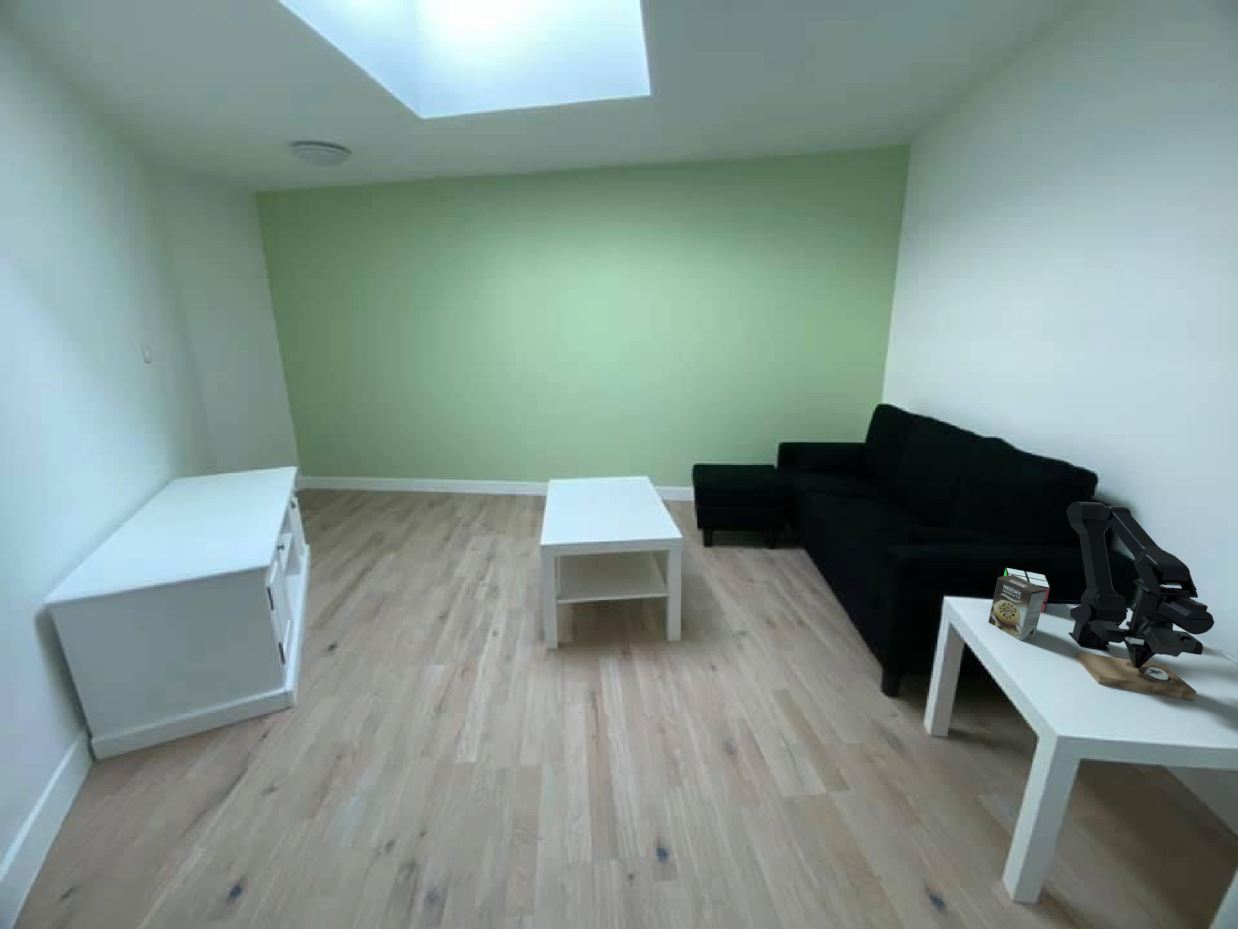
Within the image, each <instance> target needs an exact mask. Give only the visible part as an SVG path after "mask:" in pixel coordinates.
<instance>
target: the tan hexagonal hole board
mask: <svg viewBox="0 0 1238 929" xmlns="http://www.w3.org/2000/svg"><path fill="white" fill-rule="evenodd" d="M1075 659H1076V660H1077V661H1078V662H1079V663H1080V665H1081V666H1082V667H1083V668H1084V669H1085V670H1086V671H1087V672H1088V674H1089V675H1090V676H1091V677H1092V678H1093V679H1094V681H1096V683H1097V684H1098V685H1104V686H1108V687H1114V688H1119V689H1125V690H1129V691H1131V690H1132V691H1136V692H1140V693H1141V692H1142V693H1146V694H1147V693H1148V694H1152V695H1158V696H1162V697H1163V696H1164V697H1170V698H1176V699H1181V700H1187V701H1194V700H1195V697H1196V693H1197V690H1195V689H1194V688H1193V687H1192V686H1191V685H1190V684H1188V683H1187V682H1186V681H1185V680H1183V678H1181V677H1180V676H1179V675H1177V674H1176V673H1175V672H1174V671H1173V670H1171V669H1170V668H1169V667H1168V666H1167V665H1166V664H1162V663H1155V662H1154V663H1153V662H1150V661H1149V662H1148V661H1147V662H1146V663H1145V664H1144V665H1143V666H1141V667H1140V668H1135V667H1133V665H1132V662H1131V659H1127V658H1120V657H1113V656H1106V655H1101V654H1099V655H1098V654H1091V653H1085V652H1081V651H1080V652H1079V651H1077V652H1076V654H1075ZM1153 667H1154V668H1159V669H1161V670H1163V671H1164V672H1166V673H1167V675H1168V677H1169V681H1168V682H1166V681H1159V680H1155V679H1152V678H1150V677H1148V676H1145V671H1146V670H1147V669H1148V668H1153Z"/></svg>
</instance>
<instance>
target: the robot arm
mask: <svg viewBox="0 0 1238 929" xmlns="http://www.w3.org/2000/svg"><path fill="white" fill-rule="evenodd" d="M1131 512H1132V511H1130V509H1129V508H1128V507H1125V506H1123V505H1106V504H1105V503H1104V502H1103V503H1102V502H1091V501H1090V502H1089V501H1073V502H1071V503H1070V504H1069V505H1068V507H1067V508H1066V515H1067V519H1068V522H1069V526H1071V528H1072V529H1073V530H1074V531H1075V532H1076V533H1077V534H1078V537H1079V544H1080V548H1081V549H1080V550H1081V557H1082V558H1081V559H1082V563H1083V570H1084V577H1085V582H1086V584H1085V585H1086V589H1085V590H1084V592H1083V594H1082V595H1081V597H1080V604H1079V605H1078V606H1075V607H1071V608H1070V609H1069V611H1070V612H1069V613H1070V614H1069V616H1070V618H1072V619H1073V620H1074V621H1075V622H1074V625H1073V629H1072V630H1073V631H1072V632H1068V633H1067V634H1068V635H1069V636H1070V637H1071V638H1072V639H1073V640H1074V641H1075V642H1076V644H1077V645H1078V646H1079V647H1081V648H1087V649H1094V650H1101V651H1108V652H1109V651H1110V650H1111V648H1110V647H1109V644H1110V643H1115V644H1121V643H1124V644H1125V647H1126V649H1127V652H1128V656H1129V658H1130V659H1129V660H1131V662H1132V665H1133V667H1135V668H1140V667H1141V666H1143V665H1144V664H1145V663H1146V662H1148V661H1149V660H1151V659H1152V658H1153V657H1154V656H1156V655H1161V656H1162V655H1166V656H1171V657H1172V658H1173V657H1175V658H1178V657H1179V656H1180V655H1181V654H1182V653H1185V654H1192V655H1198V656H1199V655H1200V656H1201V655H1203V652H1204V650H1205V647H1204V644H1203V643H1202V642H1201V641H1200V640H1199V639H1198V638H1196V637H1194V635H1201V634H1205V633H1207V632H1208V631H1210V630H1211V629H1212V628H1213V626H1214V625H1215V620H1214V617H1213V615H1212V614H1211V612H1209V611H1208V605H1206V604H1205V603H1202V602H1199V601H1197V600H1195V599H1198V598H1199V595H1198V592H1197V590H1198V589H1197V587H1196V586H1195V583H1194V581H1193V577H1192V574H1191V571H1190V568H1189V567H1188V566H1187V564H1185V563H1184V562H1183V561H1182V560H1180V559H1179V558H1178V557H1177V556H1176V555H1174V554H1172V553H1170V552H1169V551H1166V550H1164V549H1163V548H1161V547H1160V546H1159V545H1158V544H1157V543H1156V542H1155V541H1154V540H1153V538H1151V536H1150V535H1149V534H1148V533H1147V532H1146V530H1145V529H1144V528H1143V527H1142V526H1141V525H1140V523H1139V522H1138V521H1137V520H1136V519H1135V518H1134V517H1133V516H1132V513H1131ZM1108 528H1111V529H1112V531H1113V532H1114V533H1115V535H1116V536H1117V537H1118V539H1119V540H1120V541H1121V542H1122V543H1123V545H1124V546H1125V547H1126V548H1127V550H1128V551H1129V552H1130V553H1131V554H1132V556H1133V558H1134V562H1133V564H1134V565H1133V566H1134V568H1135V571H1137V573H1138V575H1139V576H1140V578H1138V579H1134V580H1133V584H1136V585H1137V586H1139V587H1140V590H1139V593H1138V596H1137V600H1136V603H1135V604H1136V606H1135V607H1134V605H1133V606H1132V605H1130V608H1129V610H1130V611H1131V613H1132V612H1134V613H1133V616H1132V615H1131V616H1132V620H1131V619H1130V620H1131V622H1130V620H1129V621H1128V620H1127V618H1128V617H1127V616H1128V613H1129V610H1128V608H1127V602H1126V601H1127V600H1126V599H1127V598H1125V596H1124V595H1119V594H1118V593H1117V592H1116V591H1115V590H1114V588H1113V583H1112V582H1113V581H1112V575H1111V570H1110V564H1109V558H1108V552H1107V545H1106V539H1105V533H1106V532H1107V530H1108ZM1166 586H1171V587H1166ZM1172 586H1173V587H1172ZM1176 586H1177V587H1176ZM1125 620H1127V621H1126V622H1125V623H1126V624H1125V625H1126V626H1127V627H1128V628H1129V629H1128V628H1122V627H1121V628H1120V626H1121V624H1122V623H1124V621H1125ZM1174 625H1175V626H1176V627H1178V628H1180V629H1181V630H1183V631H1180V630H1174Z"/></svg>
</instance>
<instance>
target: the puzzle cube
mask: <svg viewBox="0 0 1238 929" xmlns="http://www.w3.org/2000/svg"><path fill="white" fill-rule="evenodd" d="M1010 575H1015V576H1017V577H1019V578H1021V579H1024V580H1026V581H1028V582H1031V583H1033V584H1035V585H1038V586H1040V587H1042V588H1045V589H1046V594H1045V597H1044V601H1043V605H1042V609H1041V613H1044V614H1045V613H1046V610H1047V607H1048V601H1049V598H1050V594H1051V593H1050V592H1051V589H1052V588H1051V586H1050V583H1049V581H1048V579H1047V577H1046V575H1044V574H1040V573H1035V572H1030V571H1024V570H1019V569H1016V568H1014V569H1013V568H1010V567H1009V568H1008V567H1006V568H1004V574H1003V576H1010Z"/></svg>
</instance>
